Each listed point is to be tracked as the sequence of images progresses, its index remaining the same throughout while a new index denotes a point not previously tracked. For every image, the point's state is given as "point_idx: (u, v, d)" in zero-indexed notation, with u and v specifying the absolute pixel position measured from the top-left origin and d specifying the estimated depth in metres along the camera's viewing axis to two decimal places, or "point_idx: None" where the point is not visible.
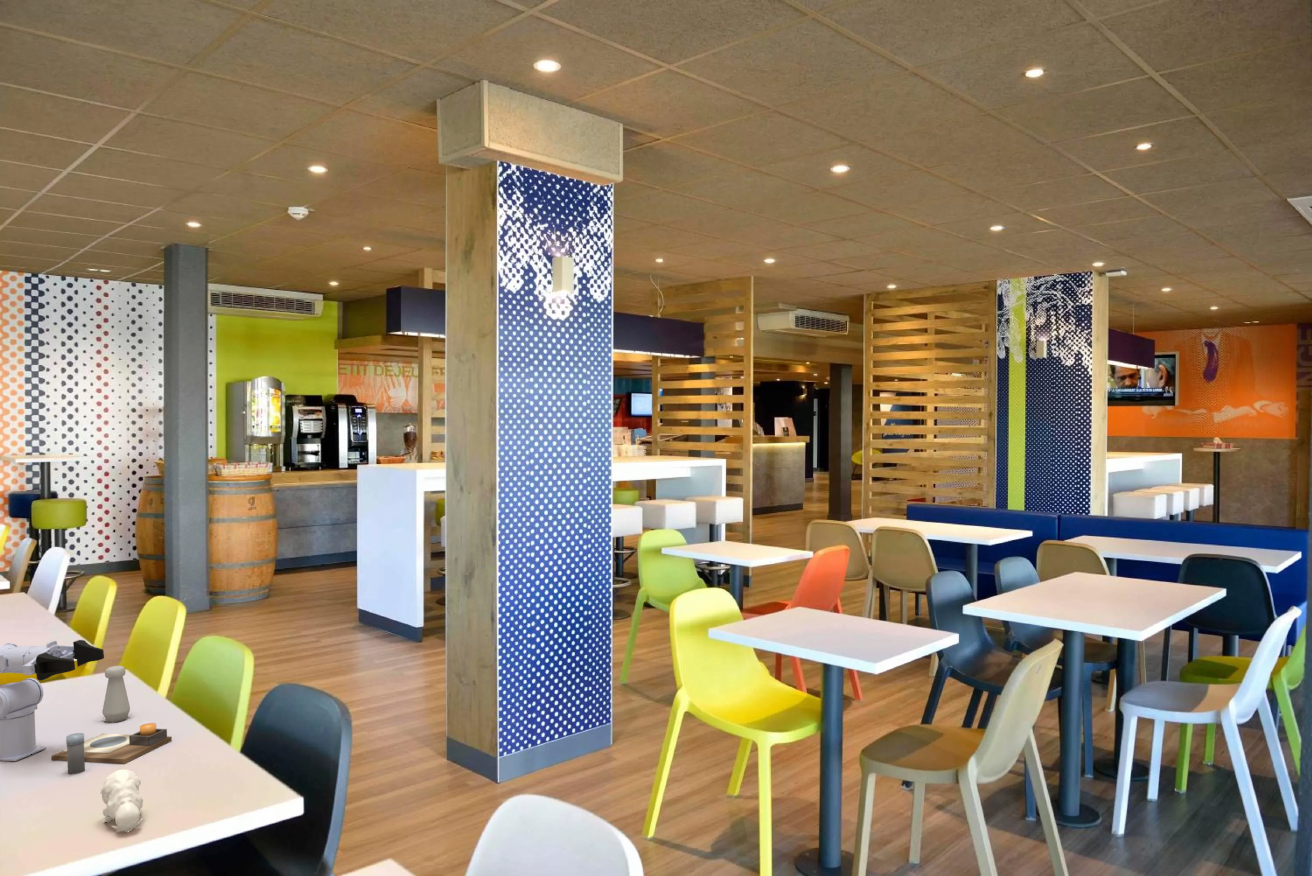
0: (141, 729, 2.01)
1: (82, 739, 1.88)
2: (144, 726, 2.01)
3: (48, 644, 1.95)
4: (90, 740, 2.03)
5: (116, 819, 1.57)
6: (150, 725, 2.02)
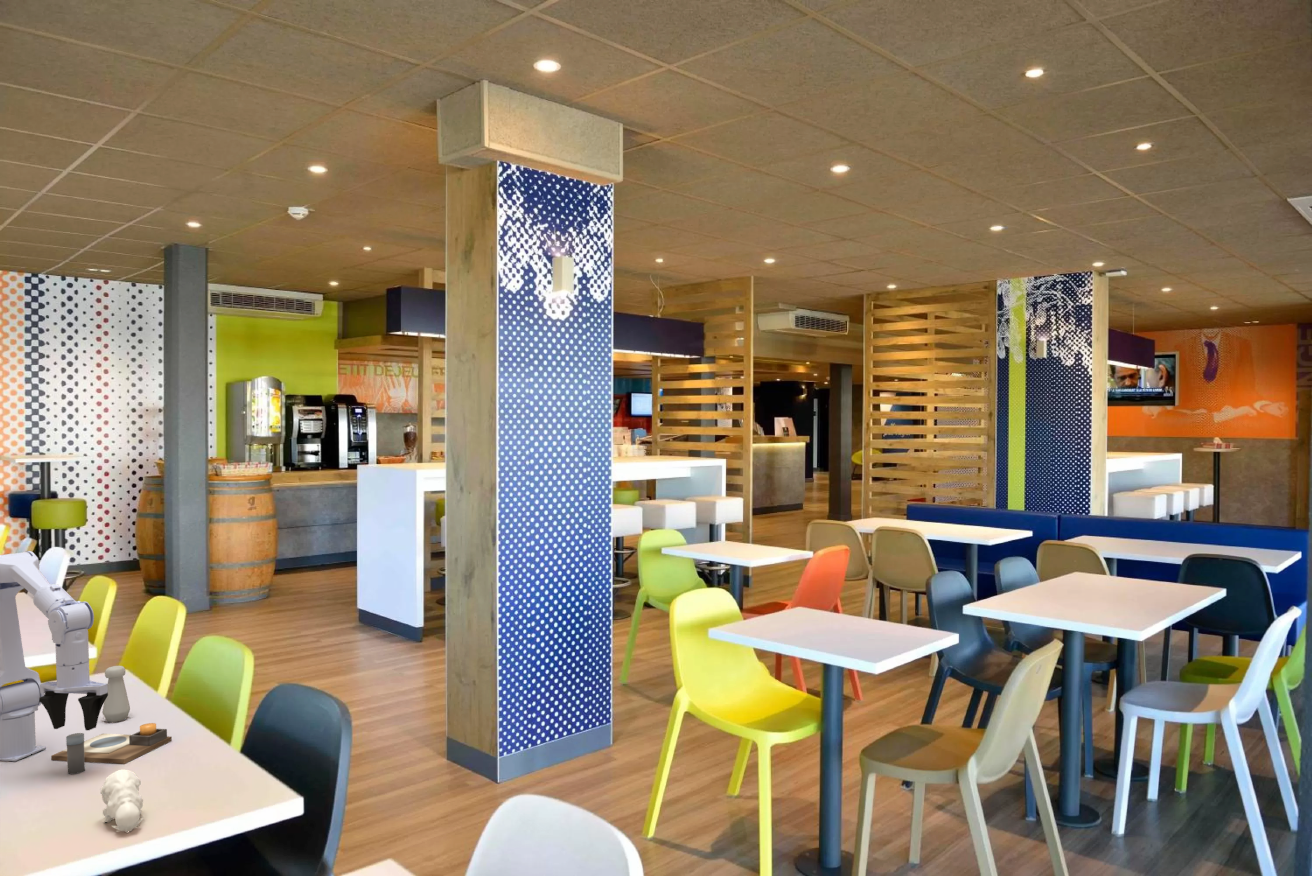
0: (141, 729, 2.01)
1: (82, 739, 1.88)
2: (144, 726, 2.01)
3: None
4: (90, 740, 2.03)
5: (116, 819, 1.57)
6: (150, 725, 2.02)
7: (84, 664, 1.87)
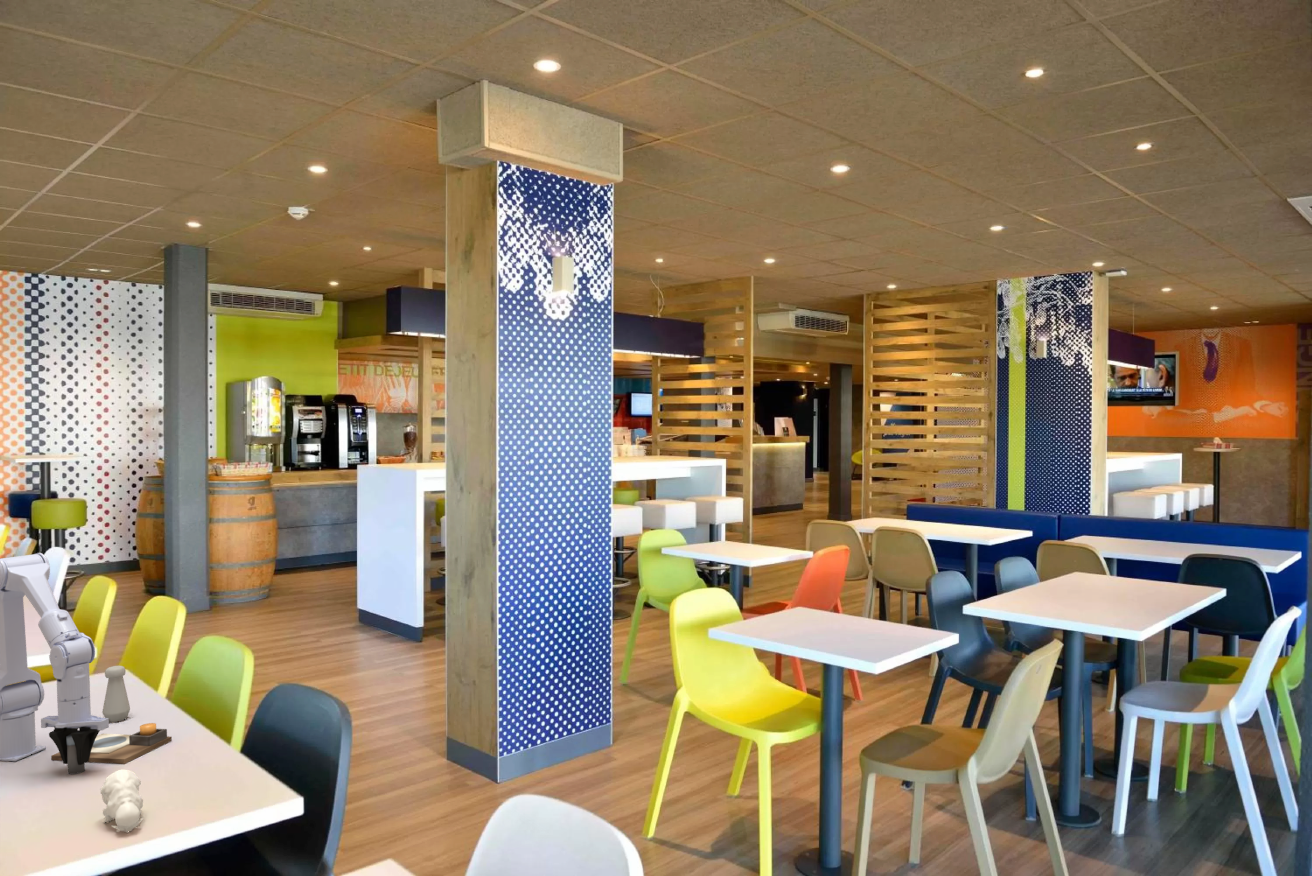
0: (141, 729, 2.01)
1: None
2: (144, 726, 2.01)
3: None
4: None
5: (116, 819, 1.57)
6: (150, 725, 2.02)
7: (85, 699, 1.87)
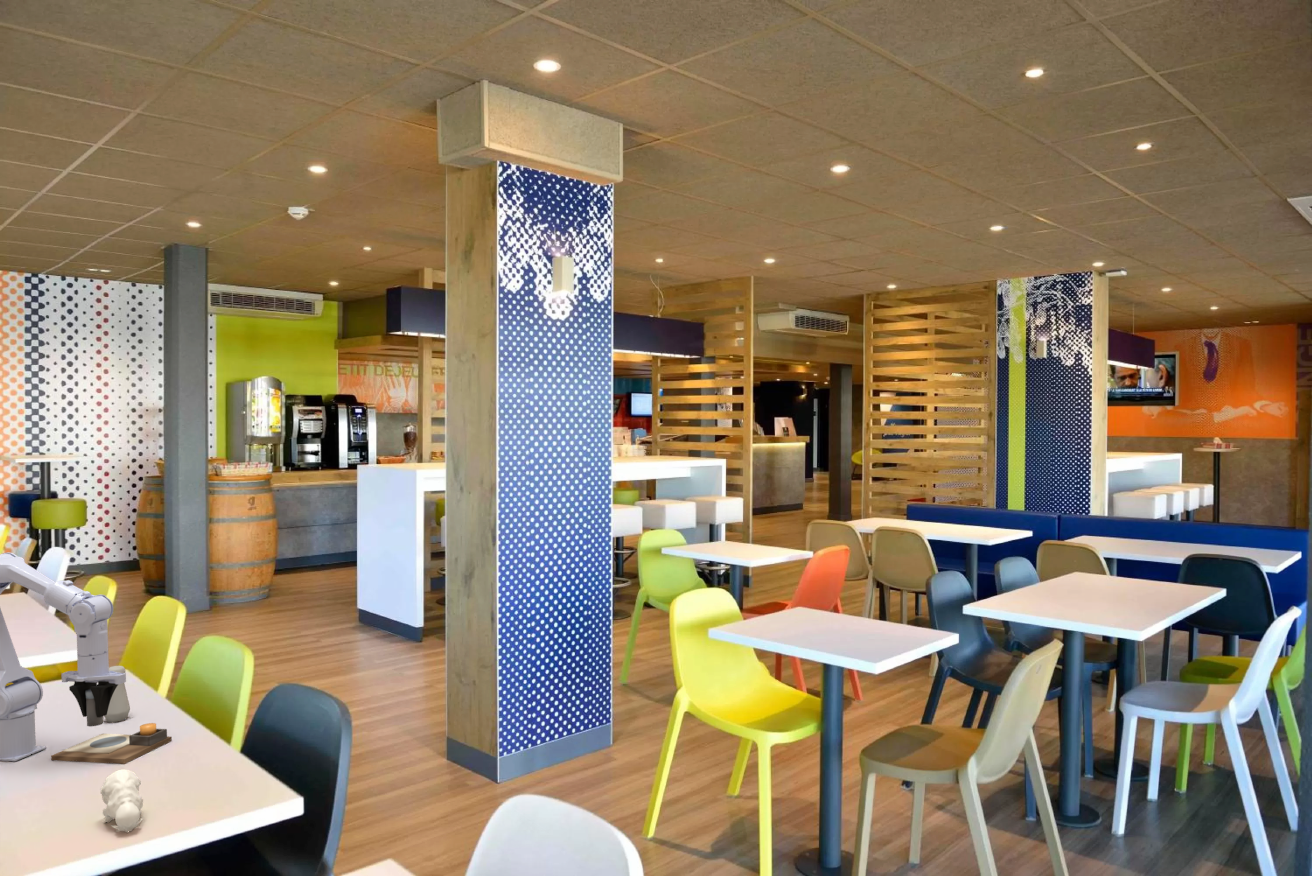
0: (141, 729, 2.01)
1: None
2: (144, 726, 2.01)
3: None
4: (90, 740, 2.03)
5: (116, 819, 1.57)
6: (150, 725, 2.02)
7: (104, 654, 1.95)
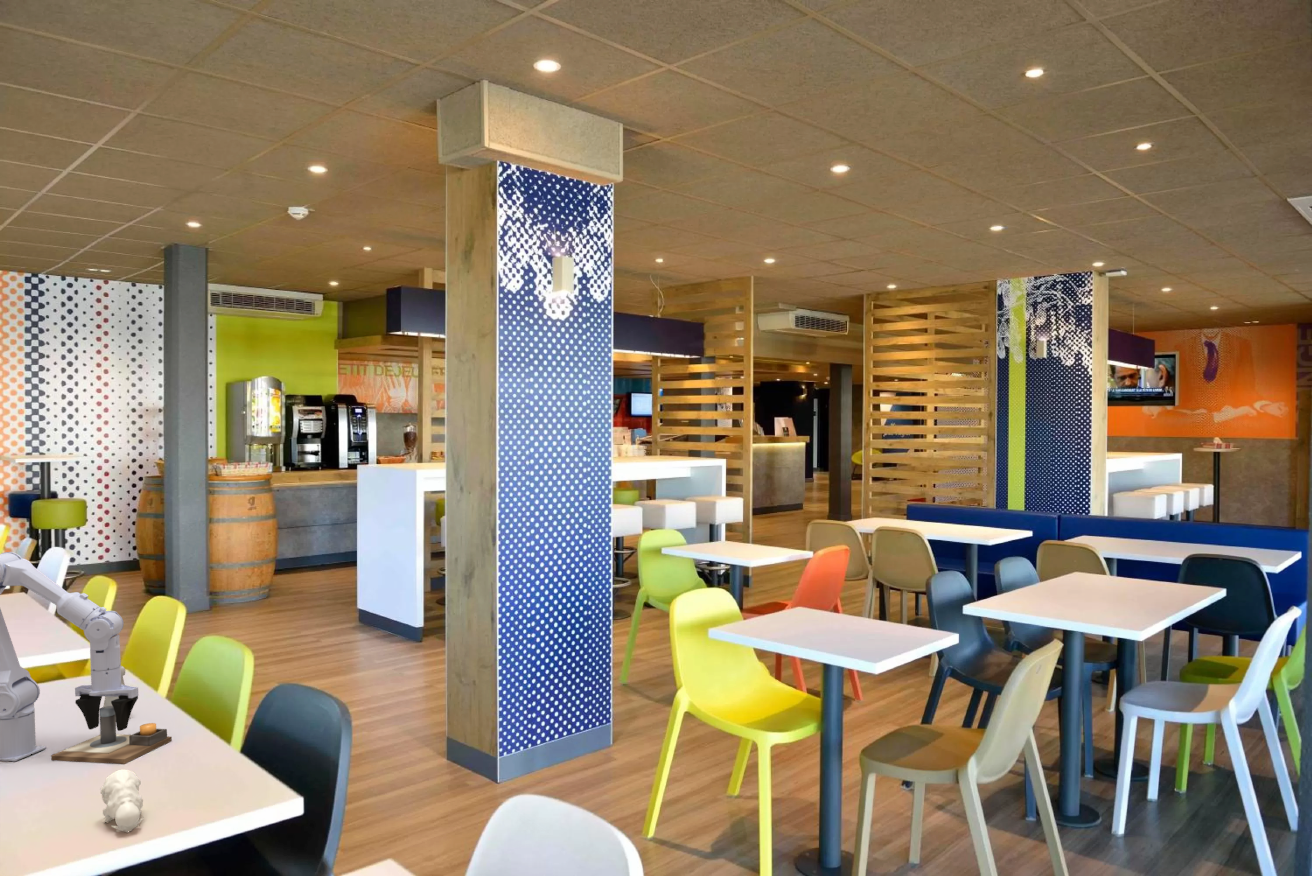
0: (141, 729, 2.01)
1: (114, 711, 2.02)
2: (144, 726, 2.01)
3: None
4: (90, 740, 2.03)
5: (116, 819, 1.57)
6: (150, 725, 2.02)
7: (116, 669, 2.01)
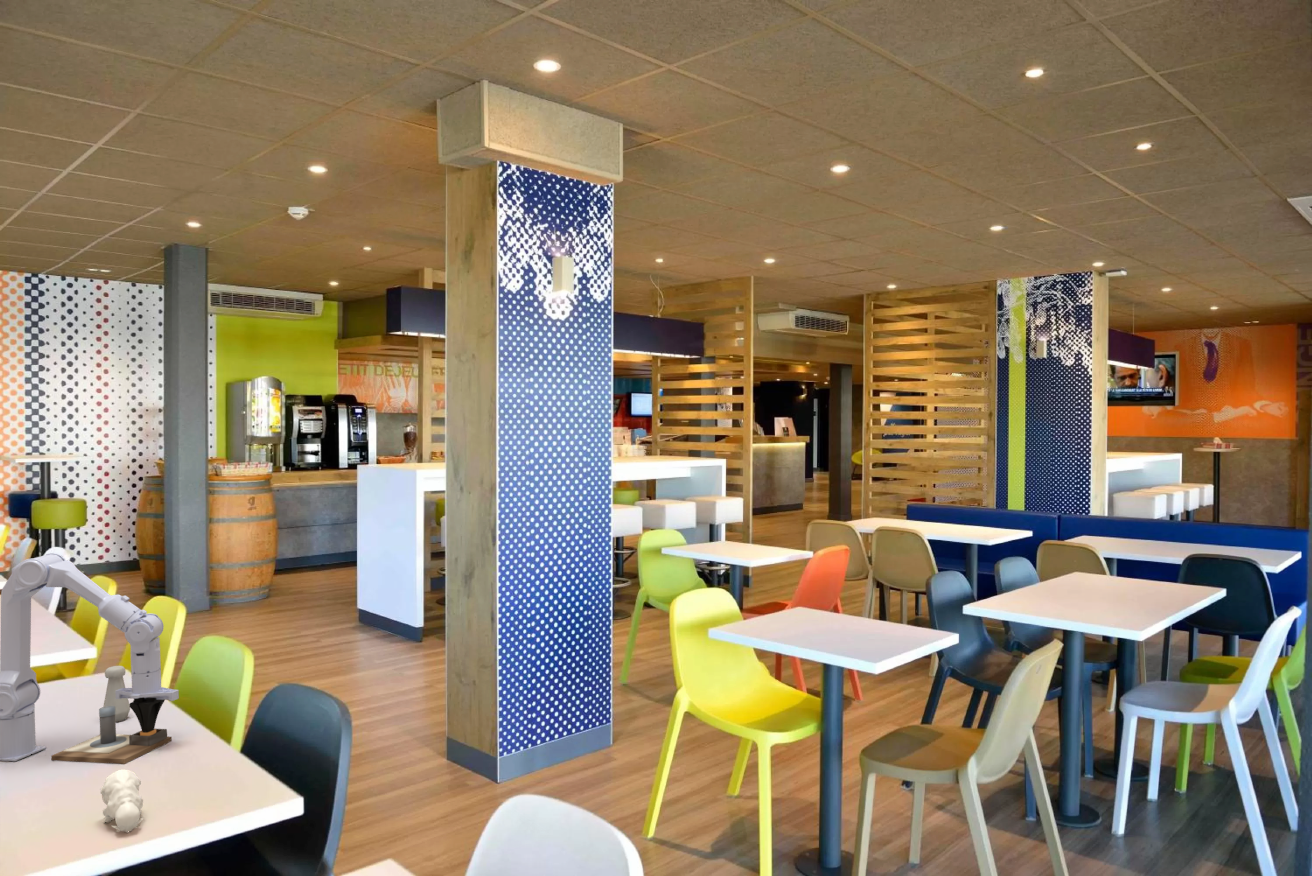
0: (141, 735, 2.01)
1: (114, 711, 2.02)
2: None
3: None
4: (90, 740, 2.03)
5: (116, 819, 1.57)
6: (150, 731, 2.02)
7: (157, 672, 2.01)
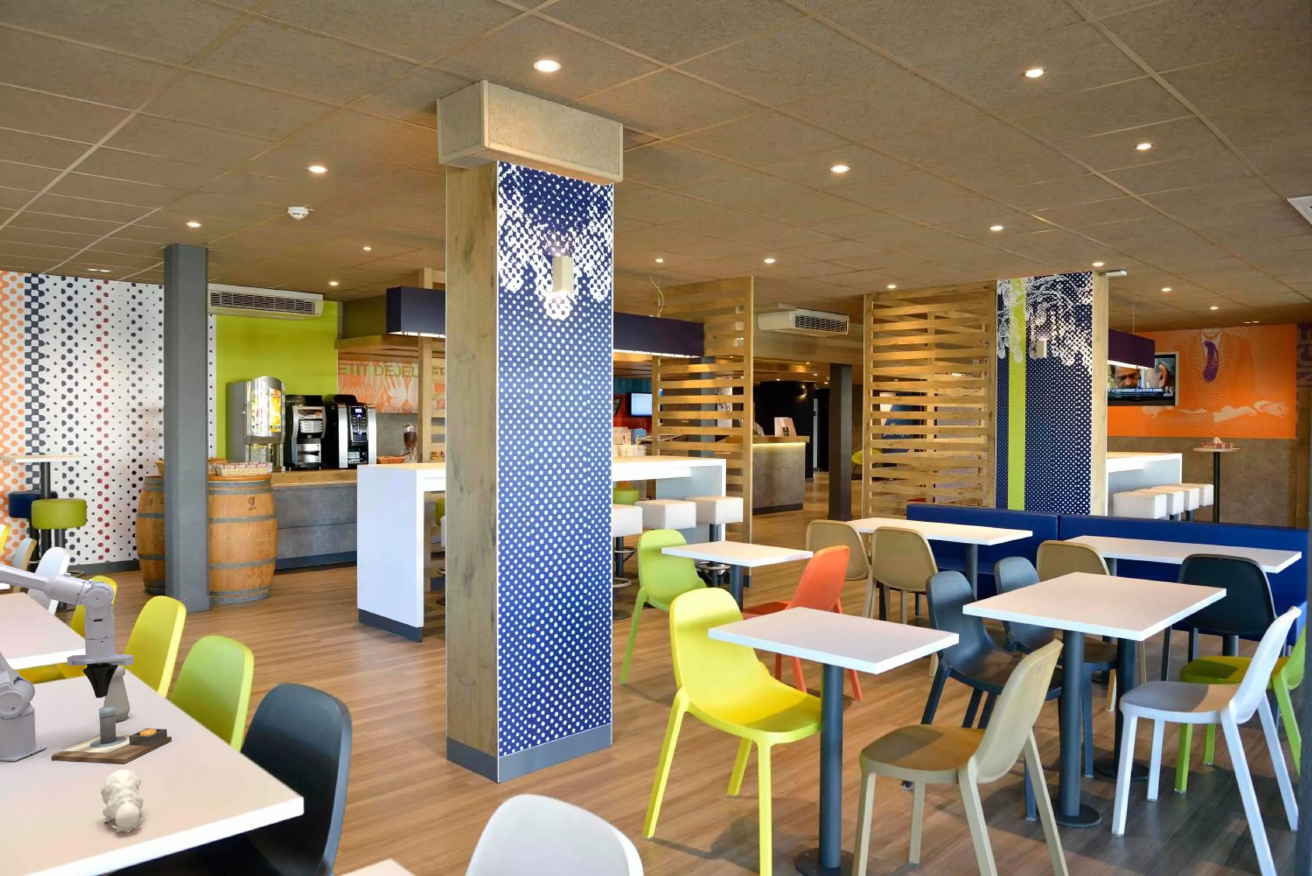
0: (141, 735, 2.01)
1: (114, 711, 2.02)
2: (144, 732, 2.01)
3: None
4: (90, 740, 2.03)
5: (116, 819, 1.57)
6: (150, 731, 2.02)
7: (111, 638, 2.05)
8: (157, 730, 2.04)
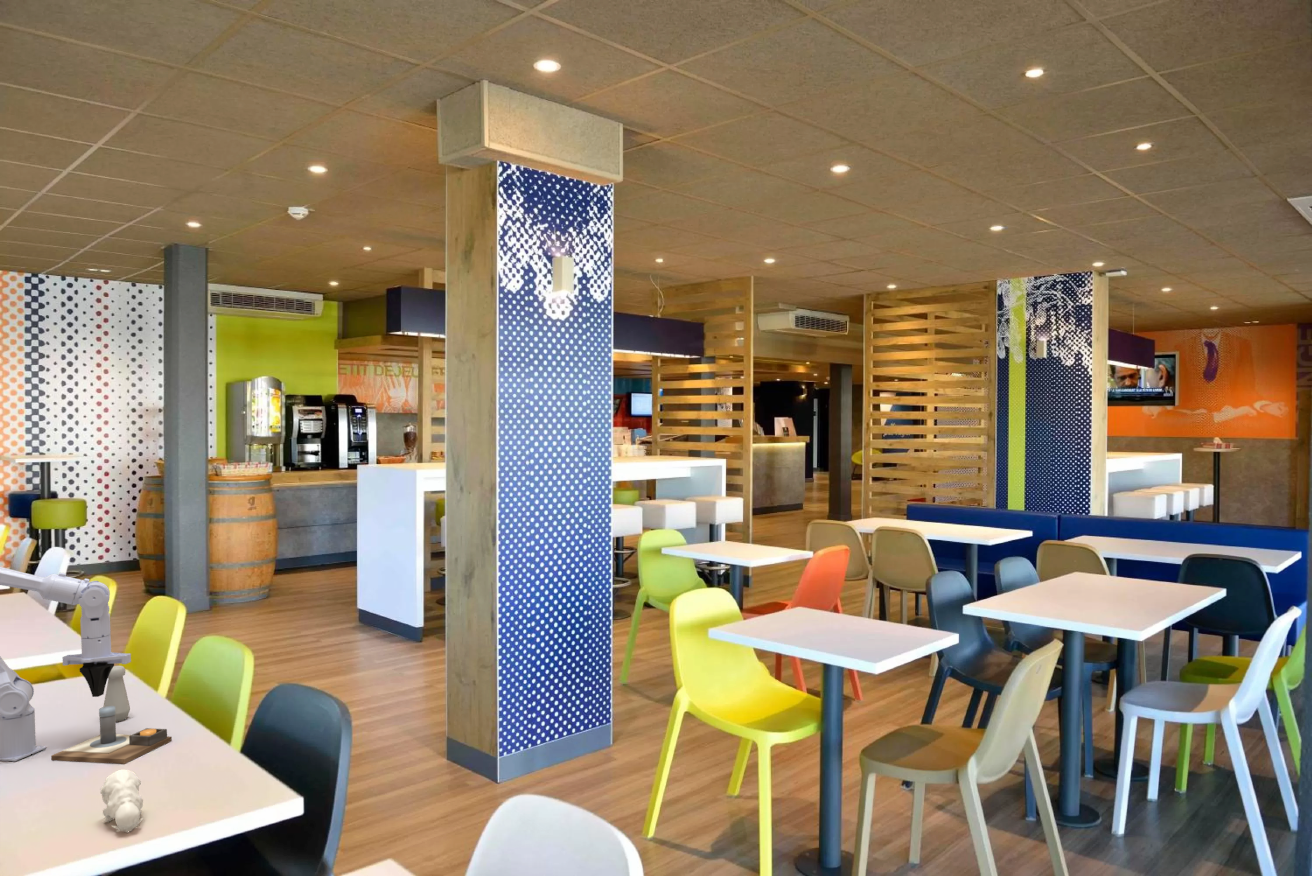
0: (141, 735, 2.01)
1: (114, 711, 2.02)
2: (144, 732, 2.01)
3: None
4: (90, 740, 2.03)
5: (116, 819, 1.57)
6: (150, 731, 2.02)
7: (108, 637, 2.06)
8: (157, 730, 2.04)
